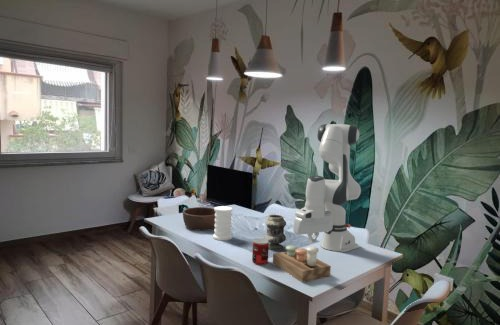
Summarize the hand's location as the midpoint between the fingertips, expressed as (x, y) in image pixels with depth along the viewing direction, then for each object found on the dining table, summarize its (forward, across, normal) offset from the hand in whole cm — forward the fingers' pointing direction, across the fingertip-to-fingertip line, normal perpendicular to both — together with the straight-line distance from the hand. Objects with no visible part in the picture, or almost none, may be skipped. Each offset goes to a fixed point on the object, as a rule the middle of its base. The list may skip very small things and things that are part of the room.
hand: (312, 241), depth 163 cm
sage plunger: (+15, 0, -16) cm, 22 cm away
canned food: (+16, +13, -24) cm, 32 cm away
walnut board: (+16, 0, -8) cm, 18 cm away
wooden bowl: (+16, +17, -94) cm, 97 cm away
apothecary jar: (+16, -6, -40) cm, 44 cm away
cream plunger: (+11, 0, 0) cm, 11 cm away
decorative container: (+16, +14, -67) cm, 71 cm away
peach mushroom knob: (+14, 0, -8) cm, 16 cm away
